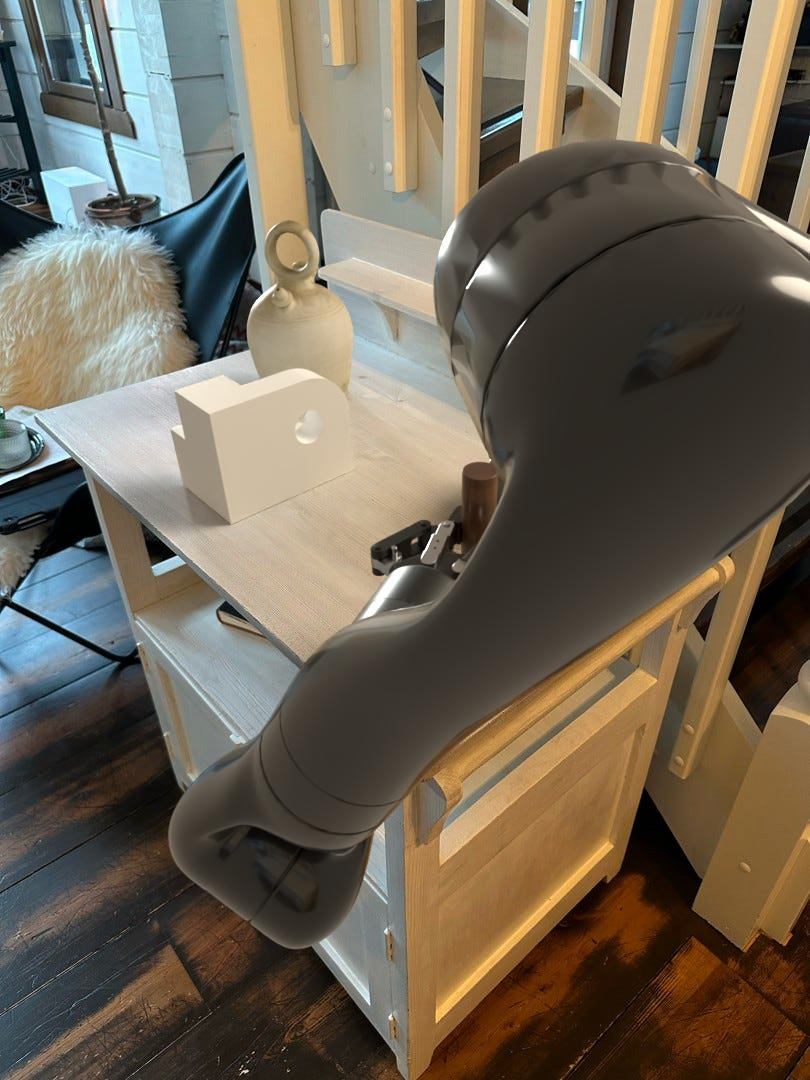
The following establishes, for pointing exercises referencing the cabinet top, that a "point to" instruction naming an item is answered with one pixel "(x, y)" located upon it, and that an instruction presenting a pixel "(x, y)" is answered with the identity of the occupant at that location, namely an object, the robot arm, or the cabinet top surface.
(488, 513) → the brown cylinder
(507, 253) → the robot arm
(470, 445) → the cabinet top surface
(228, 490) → the tape dispenser
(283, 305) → the jug
